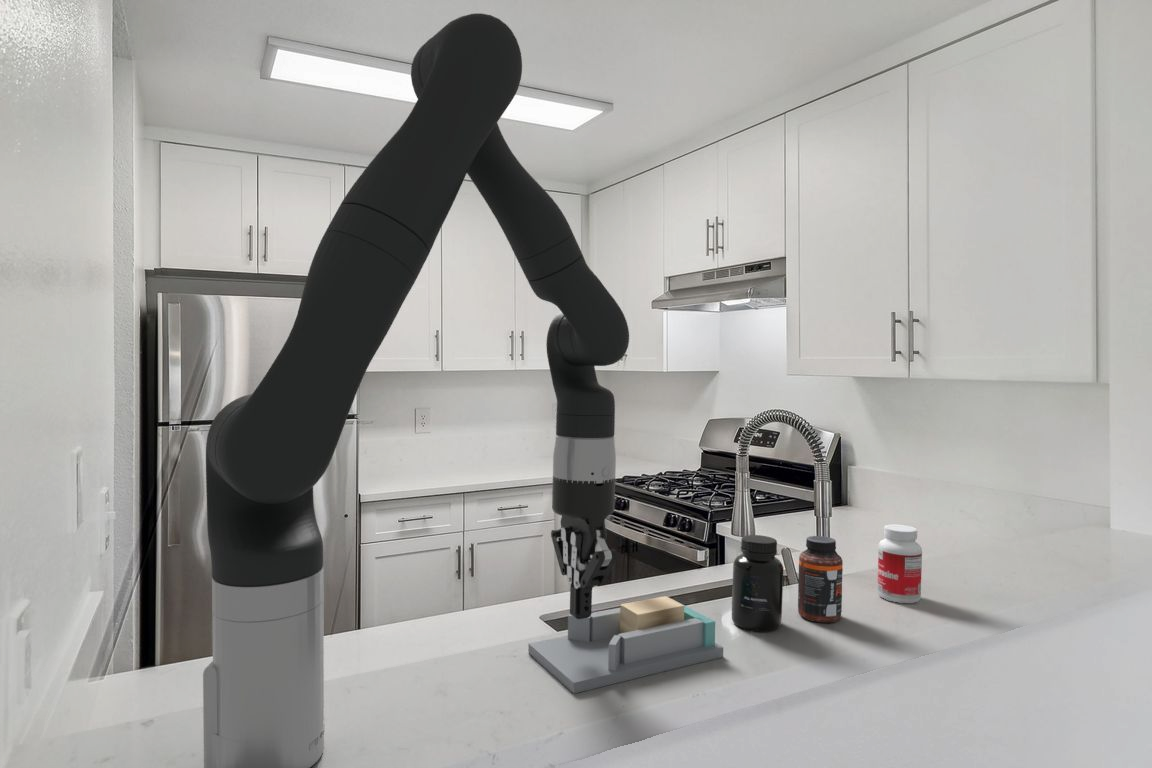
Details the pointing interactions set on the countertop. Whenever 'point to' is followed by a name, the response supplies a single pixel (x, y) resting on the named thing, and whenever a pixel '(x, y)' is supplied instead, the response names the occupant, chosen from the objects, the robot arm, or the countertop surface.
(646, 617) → the beech block
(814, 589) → the supplement bottle
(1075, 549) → the countertop surface
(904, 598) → the pill bottle
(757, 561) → the supplement bottle
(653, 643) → the guide board
